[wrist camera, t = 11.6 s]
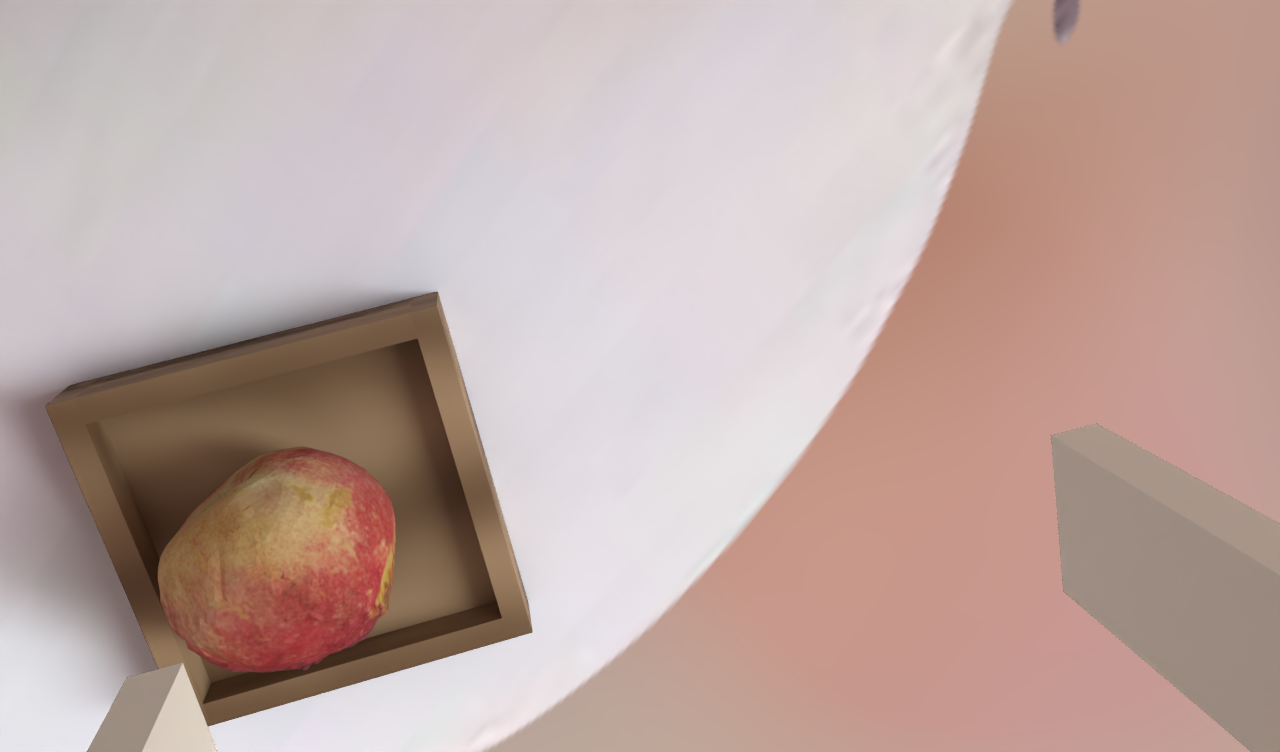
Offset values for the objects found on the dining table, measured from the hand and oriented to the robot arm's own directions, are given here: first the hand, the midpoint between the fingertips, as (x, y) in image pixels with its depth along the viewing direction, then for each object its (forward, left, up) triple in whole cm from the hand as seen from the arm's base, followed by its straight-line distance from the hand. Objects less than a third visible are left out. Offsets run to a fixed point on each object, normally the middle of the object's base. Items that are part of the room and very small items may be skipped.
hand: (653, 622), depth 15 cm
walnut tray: (+7, -11, -27) cm, 29 cm away
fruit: (+7, -11, -26) cm, 29 cm away
